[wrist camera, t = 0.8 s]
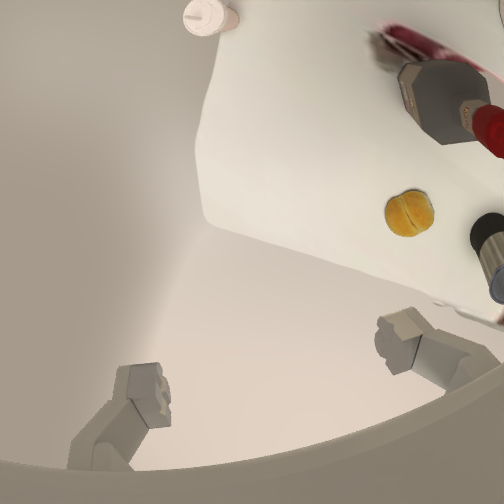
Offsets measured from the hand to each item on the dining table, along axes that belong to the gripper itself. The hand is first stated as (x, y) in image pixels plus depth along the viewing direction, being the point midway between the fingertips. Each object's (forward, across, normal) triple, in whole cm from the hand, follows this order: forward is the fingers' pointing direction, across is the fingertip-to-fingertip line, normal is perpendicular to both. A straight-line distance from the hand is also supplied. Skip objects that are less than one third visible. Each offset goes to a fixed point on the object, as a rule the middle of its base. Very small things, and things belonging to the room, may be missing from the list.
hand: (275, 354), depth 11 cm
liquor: (+33, -34, -10) cm, 48 cm away
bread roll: (+37, -33, +12) cm, 51 cm away
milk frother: (+27, -51, +12) cm, 59 cm away
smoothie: (+47, -6, -22) cm, 52 cm away
